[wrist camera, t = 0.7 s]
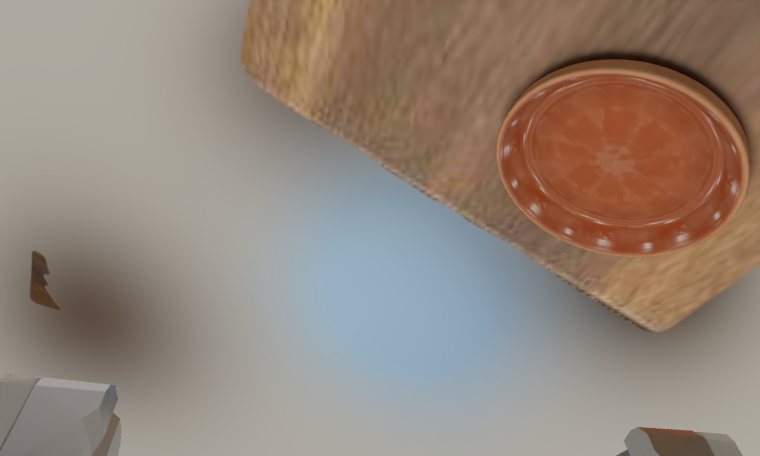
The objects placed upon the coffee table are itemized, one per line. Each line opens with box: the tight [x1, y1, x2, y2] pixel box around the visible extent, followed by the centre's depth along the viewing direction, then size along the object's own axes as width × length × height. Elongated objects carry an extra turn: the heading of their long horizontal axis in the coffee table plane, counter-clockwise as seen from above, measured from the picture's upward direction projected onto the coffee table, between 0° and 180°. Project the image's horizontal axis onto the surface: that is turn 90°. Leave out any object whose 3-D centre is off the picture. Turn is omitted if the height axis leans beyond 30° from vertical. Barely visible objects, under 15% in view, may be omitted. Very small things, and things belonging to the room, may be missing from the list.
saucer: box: [496, 59, 750, 257], centre depth 63 cm, size 23×23×4 cm
